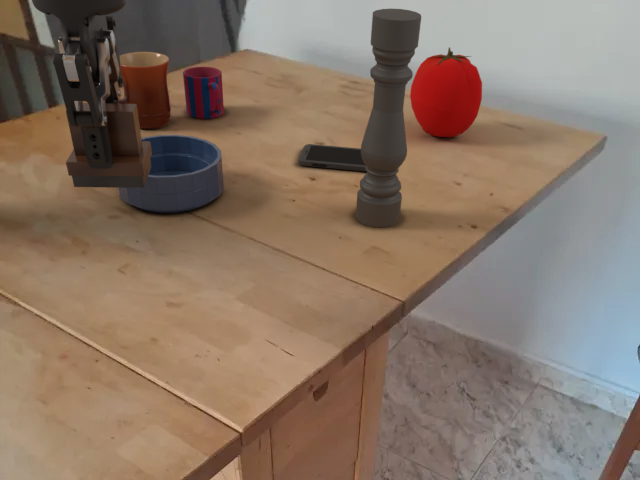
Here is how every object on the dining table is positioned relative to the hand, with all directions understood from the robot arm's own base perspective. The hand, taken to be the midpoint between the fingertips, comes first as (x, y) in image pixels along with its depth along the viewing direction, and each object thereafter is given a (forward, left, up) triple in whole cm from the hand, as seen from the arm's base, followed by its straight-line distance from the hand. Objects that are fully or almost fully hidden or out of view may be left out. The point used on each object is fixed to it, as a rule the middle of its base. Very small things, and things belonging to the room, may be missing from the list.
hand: (107, 153), depth 66 cm
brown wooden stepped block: (0, 0, -2) cm, 2 cm away
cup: (-29, +56, -18) cm, 65 cm away
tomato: (+10, +71, -18) cm, 73 cm away
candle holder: (+14, +36, -18) cm, 42 cm away
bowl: (-15, +27, -18) cm, 35 cm away
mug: (-36, +46, -18) cm, 61 cm away
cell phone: (+1, +51, -18) cm, 54 cm away
